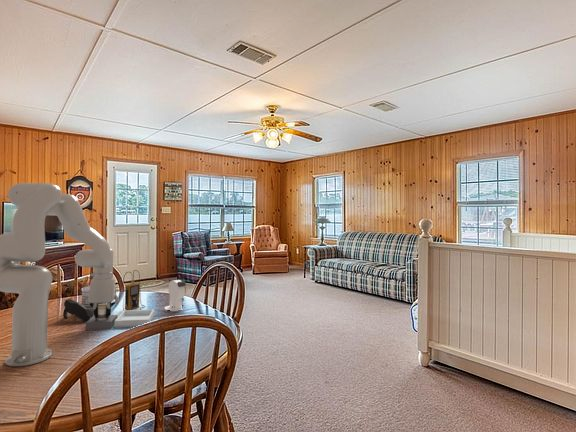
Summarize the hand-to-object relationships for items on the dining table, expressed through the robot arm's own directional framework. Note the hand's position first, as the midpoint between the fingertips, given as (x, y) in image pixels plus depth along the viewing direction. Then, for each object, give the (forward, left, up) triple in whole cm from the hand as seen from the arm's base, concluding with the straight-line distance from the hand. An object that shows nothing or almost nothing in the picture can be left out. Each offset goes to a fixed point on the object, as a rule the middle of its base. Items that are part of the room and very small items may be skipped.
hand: (102, 316), depth 149 cm
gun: (+10, +13, -4) cm, 17 cm away
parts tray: (+4, -13, -4) cm, 14 cm away
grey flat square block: (0, 0, -4) cm, 4 cm away
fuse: (0, 0, -4) cm, 4 cm away
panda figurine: (+24, -29, -4) cm, 38 cm away
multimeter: (+24, -10, -4) cm, 26 cm away
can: (+25, +11, -4) cm, 28 cm away
